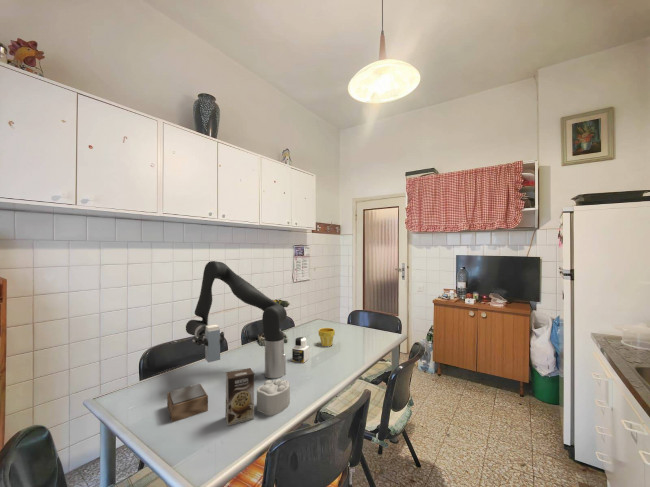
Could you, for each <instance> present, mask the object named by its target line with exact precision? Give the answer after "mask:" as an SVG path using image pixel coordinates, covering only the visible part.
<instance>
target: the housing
mask: <svg viewBox="0 0 650 487" xmlns="http://www.w3.org/2000/svg"><path fill="white" fill-rule="evenodd" d="M220 333H221V330H220V325H218V324H211V325H208V326H206V329H205V338H206V339H207V340H208V346H206V345H204V348H205V349H204V350H205V351H204V354H205V358H204V359H205V361H207V363H213V362H217V361H220V360H221V343H220Z"/></svg>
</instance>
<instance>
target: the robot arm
mask: <svg viewBox="0 0 650 487" xmlns="http://www.w3.org/2000/svg"><path fill="white" fill-rule="evenodd" d="M215 280H220V281H222V282H224V283H225V284H226V285H228V287H229V288H230V291H231V292H232V294H233V295H234V296H235V297H236V298H238V300H240V301H241V302H243V303H244V304H247V305H250V306H252V307H256V308H258V309H260V310H262V316H261V317H262V318H261V319H262V321H261V322H262V334H264V338H265V340H264V341H265V346H264V377H266V378H268V379H280V378H281V377H283V376H285V375H286V374H287V373H286V372H287V369H286V368H287V367H286V364H287V363H286V362H287V360H286V354H285V343H284V334H285V333H284V332H283V331H282V330H281V328H280V327H281V326H280V324H281V323H283V322H284V321H286V319H287V316H288V314H287V310H286V309H285V308H286V307H283V306H281V305H280V304H278V303H276V302H275V301H273V300H274V299H271V298H269V297H268V296H267V295H266V294H264V293H263V292H261V291H260V290H258V289H257V288H256V287H255V286H254V285H252V284H251V283H250V282H249V281H246V280H245V279H244V278H242V277H241V276H239V275H238V274H236V273H235V272H234V271H233V270H232V269H231V268H230V267H229V266H228V265H227V264H226V263H225V262H223V261H217V260H216V261H215V260H211V261H208V263H206V264H205V266H204V269H203V276H202V280H201V288H200V292H199V297H198V301H197V304H196V306H195V309H194V315H195V316H196V317H199V318H201V320H199V319H189V320H188V322H187V323H186V325H185V332H186V333H187V334H189V335H191V336H193V337H192V344H194V345H195V346H201V345H202V346H205V345H206V346H208V340H207V339H206V338H205V329H206V326H209V324H208V323H209V313H210V310H211V307H212V305H213V304H212V303H213V285H214V282H215ZM280 330H281V331H280ZM224 340H225V333H224V331H220V344H222V343H223V341H224Z"/></svg>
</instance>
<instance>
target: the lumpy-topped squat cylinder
mask: <svg viewBox="0 0 650 487" xmlns="http://www.w3.org/2000/svg"><path fill="white" fill-rule="evenodd" d="M290 403H291V386H290V382H289V381H288V380H285V379H280V378H276V379H274V380H270V379H267V380H265V381H264V383H263V384H262V385H259V387H257V389H256V411H257V412H260V413H263V414H264V415H265V416H269V417H270V416H275V415H278V414H279V413H282V412H283V411H285V410H287V409H288V407H289V405H291V404H290Z"/></svg>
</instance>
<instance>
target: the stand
mask: <svg viewBox="0 0 650 487" xmlns="http://www.w3.org/2000/svg"><path fill="white" fill-rule="evenodd" d="M166 396H167V399H166V401H167V405H166V407H167V411H168V414H169V417H170V421H171V423H174V422H177V421H180V420H183V419H186V418H189V417H193V416H196V415H198V414H202V413H205V412H208V411H209V396H208V394H207V392H206V390H205V388H204V387H203V385H202V384H201V383H196V384H193V385H188V386H185V387H181V388H178V389H175V390H171V391H170V390H169V392H167V393H166Z"/></svg>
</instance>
